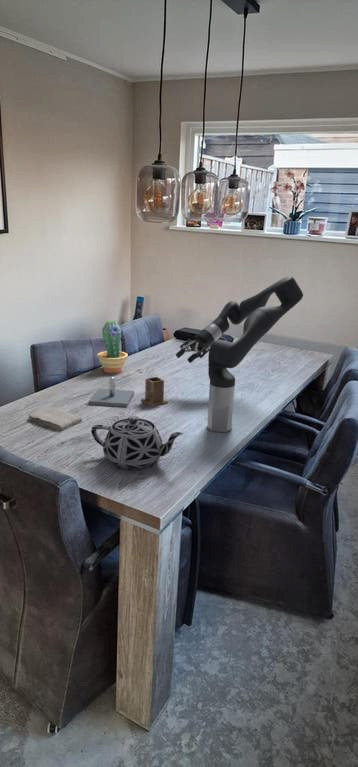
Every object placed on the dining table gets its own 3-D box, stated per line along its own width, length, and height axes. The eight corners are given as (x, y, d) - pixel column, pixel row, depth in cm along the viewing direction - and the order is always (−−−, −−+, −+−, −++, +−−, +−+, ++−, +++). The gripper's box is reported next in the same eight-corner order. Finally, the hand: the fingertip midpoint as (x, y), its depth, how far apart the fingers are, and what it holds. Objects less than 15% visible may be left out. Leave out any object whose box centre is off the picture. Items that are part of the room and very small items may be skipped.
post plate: (127, 407, 210) (127, 384, 207) (88, 404, 211) (88, 381, 208) (134, 394, 225) (134, 372, 222) (98, 391, 226) (98, 370, 223)
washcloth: (49, 411, 204) (49, 404, 203) (83, 422, 195) (83, 414, 194) (26, 421, 194) (25, 413, 193) (61, 432, 185) (61, 424, 184)
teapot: (174, 482, 153) (176, 436, 148) (79, 466, 160) (78, 422, 155) (189, 455, 171) (191, 413, 166) (103, 442, 178) (102, 401, 173)
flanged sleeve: (167, 403, 216) (168, 380, 212) (151, 406, 211) (151, 383, 208) (157, 397, 222) (157, 375, 219) (141, 400, 217) (141, 378, 214)
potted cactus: (92, 373, 251) (91, 322, 244) (102, 364, 266) (102, 316, 258) (123, 375, 249) (123, 325, 241) (131, 367, 264) (132, 319, 256)
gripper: (222, 345, 220) (196, 369, 215) (202, 338, 231) (176, 361, 226) (216, 332, 216) (188, 356, 211) (195, 325, 227) (169, 348, 222)
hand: (182, 358), depth 219 cm, fingers open, 8 cm apart
